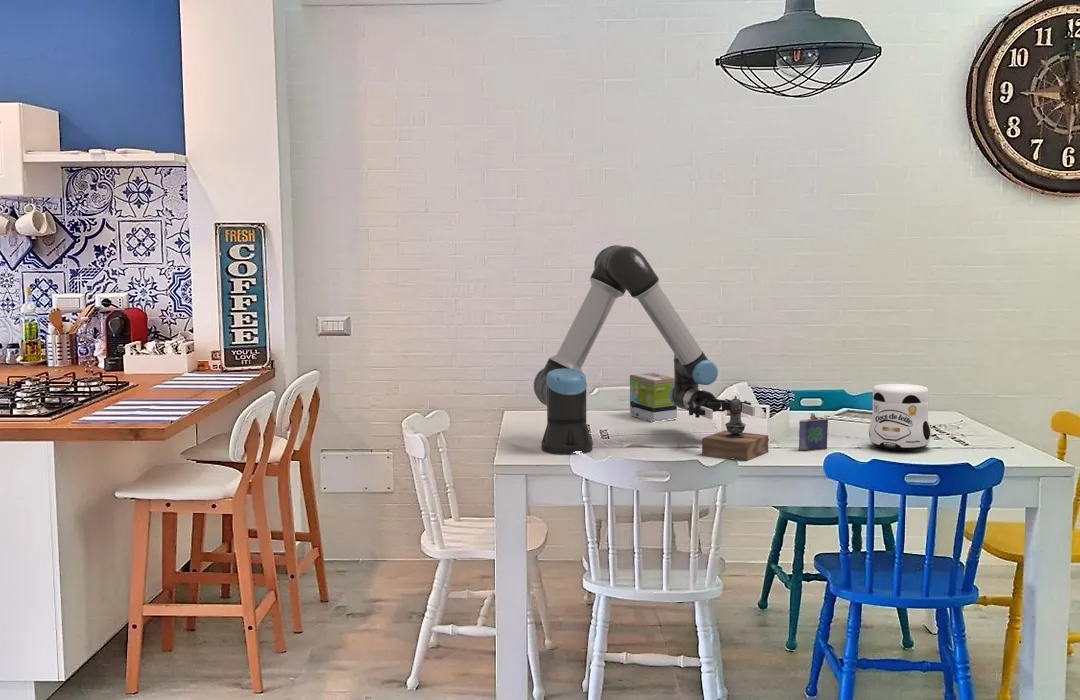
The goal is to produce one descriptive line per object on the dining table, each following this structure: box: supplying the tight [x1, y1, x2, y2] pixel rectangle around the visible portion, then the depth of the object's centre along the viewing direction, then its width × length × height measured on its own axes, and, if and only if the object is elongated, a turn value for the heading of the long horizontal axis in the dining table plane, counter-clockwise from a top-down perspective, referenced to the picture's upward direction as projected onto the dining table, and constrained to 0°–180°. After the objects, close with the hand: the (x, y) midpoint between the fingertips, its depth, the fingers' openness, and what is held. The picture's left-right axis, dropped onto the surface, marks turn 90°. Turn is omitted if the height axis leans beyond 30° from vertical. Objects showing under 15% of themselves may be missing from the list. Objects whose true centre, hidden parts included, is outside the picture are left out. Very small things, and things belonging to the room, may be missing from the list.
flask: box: [798, 412, 829, 452], centre depth 324 cm, size 9×3×11 cm, turn 109°
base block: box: [701, 429, 769, 462], centre depth 320 cm, size 14×14×5 cm
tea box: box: [629, 372, 678, 423], centre depth 378 cm, size 15×10×15 cm
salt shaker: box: [724, 395, 747, 438], centre depth 319 cm, size 6×6×12 cm
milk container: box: [868, 383, 932, 451], centre depth 325 cm, size 17×17×18 cm
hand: (732, 413), depth 321 cm, fingers open, 13 cm apart
